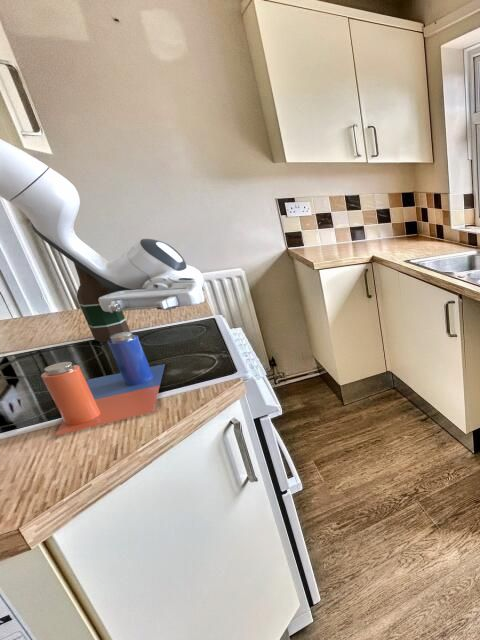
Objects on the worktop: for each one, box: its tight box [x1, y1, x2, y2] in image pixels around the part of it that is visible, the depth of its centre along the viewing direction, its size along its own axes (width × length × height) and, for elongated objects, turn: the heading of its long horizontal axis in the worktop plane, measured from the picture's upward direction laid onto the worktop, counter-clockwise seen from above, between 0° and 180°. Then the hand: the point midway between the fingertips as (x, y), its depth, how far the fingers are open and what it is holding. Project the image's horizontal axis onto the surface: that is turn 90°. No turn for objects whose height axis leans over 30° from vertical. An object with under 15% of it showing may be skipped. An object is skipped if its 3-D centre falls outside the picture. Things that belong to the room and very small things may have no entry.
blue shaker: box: [107, 331, 154, 385], centre depth 92 cm, size 5×5×11 cm
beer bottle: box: [73, 262, 131, 343], centre depth 115 cm, size 8×8×24 cm
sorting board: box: [54, 363, 166, 437], centre depth 88 cm, size 14×26×1 cm, turn 33°
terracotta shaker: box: [40, 361, 101, 425], centre depth 78 cm, size 5×5×11 cm
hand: (136, 307), depth 99 cm, fingers open, 8 cm apart
